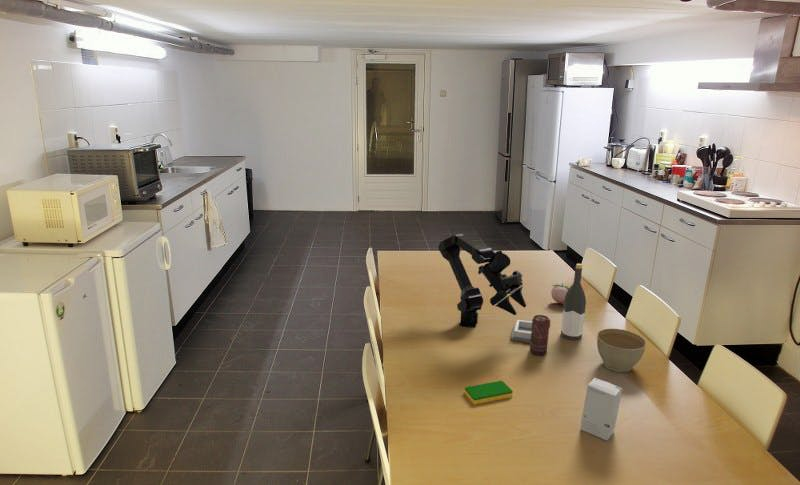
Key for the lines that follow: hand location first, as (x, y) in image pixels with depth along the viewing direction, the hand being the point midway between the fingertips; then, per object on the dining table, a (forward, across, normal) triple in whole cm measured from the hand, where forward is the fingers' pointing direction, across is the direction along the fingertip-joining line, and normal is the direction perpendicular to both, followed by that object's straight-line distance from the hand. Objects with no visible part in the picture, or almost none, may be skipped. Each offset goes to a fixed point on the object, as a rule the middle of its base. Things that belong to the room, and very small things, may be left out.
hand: (520, 310), depth 202 cm
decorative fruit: (+10, +49, +10) cm, 51 cm away
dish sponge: (+15, -38, +7) cm, 41 cm away
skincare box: (+39, -37, -17) cm, 56 cm away
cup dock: (+10, +11, +10) cm, 18 cm away
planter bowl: (+36, +6, -14) cm, 39 cm away
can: (+16, -1, +4) cm, 17 cm away
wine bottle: (+20, +20, 0) cm, 28 cm away
